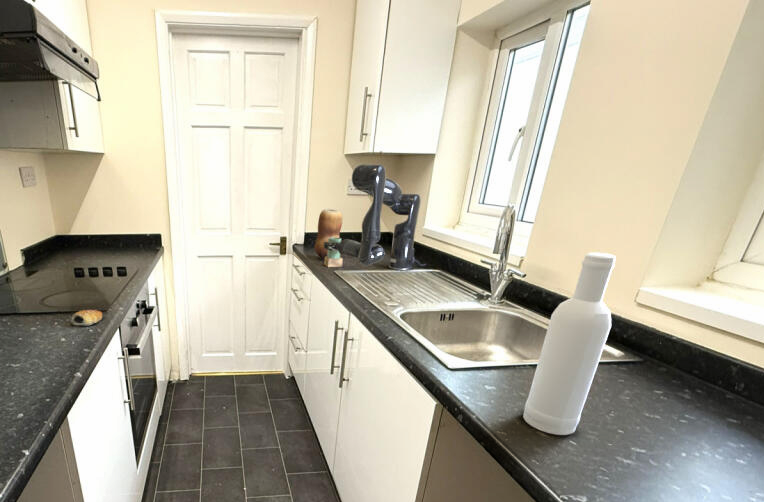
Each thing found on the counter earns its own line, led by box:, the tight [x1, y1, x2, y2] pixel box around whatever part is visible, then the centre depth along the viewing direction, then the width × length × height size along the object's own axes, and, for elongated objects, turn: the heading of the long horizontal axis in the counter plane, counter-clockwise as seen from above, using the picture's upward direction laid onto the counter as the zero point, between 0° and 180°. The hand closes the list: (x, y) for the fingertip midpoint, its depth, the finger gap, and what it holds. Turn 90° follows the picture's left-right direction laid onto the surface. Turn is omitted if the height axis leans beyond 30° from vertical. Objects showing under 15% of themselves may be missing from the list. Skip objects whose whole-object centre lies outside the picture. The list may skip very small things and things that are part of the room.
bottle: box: [522, 252, 617, 436], centre depth 68 cm, size 8×8×30 cm
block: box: [323, 256, 344, 268], centre depth 199 cm, size 7×6×4 cm
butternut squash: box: [314, 208, 343, 261], centre depth 210 cm, size 14×13×25 cm
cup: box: [327, 237, 342, 259], centre depth 196 cm, size 6×6×9 cm
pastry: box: [70, 309, 103, 327], centre depth 123 cm, size 9×7×4 cm
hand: (332, 243), depth 197 cm, fingers open, 8 cm apart
